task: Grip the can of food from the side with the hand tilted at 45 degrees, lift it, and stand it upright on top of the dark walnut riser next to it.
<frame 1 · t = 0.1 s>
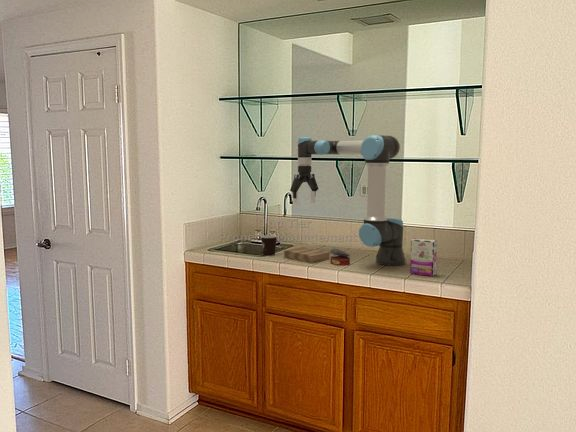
hand: (304, 203, 290), 28 cm above the counter, tool pointing down, fingers open, 13 cm apart
canned food: (340, 264, 266), on the counter
walnut riser: (306, 258, 277), on the counter
candy bar box: (422, 274, 243), on the counter
coffee mug: (269, 254, 289), on the counter
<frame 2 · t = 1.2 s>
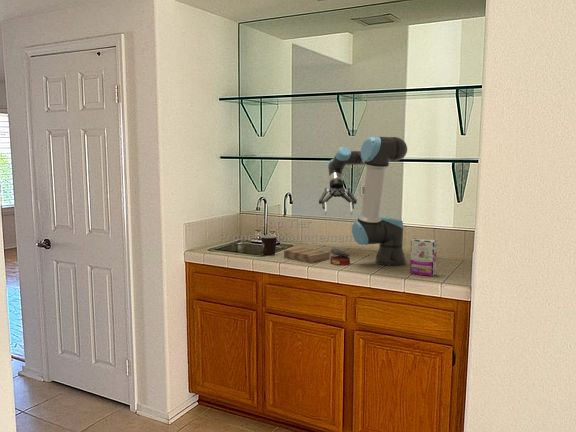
hand: (338, 213, 273), 25 cm above the counter, tool tilted 45°, fingers open, 13 cm apart
nothing on the counter moved.
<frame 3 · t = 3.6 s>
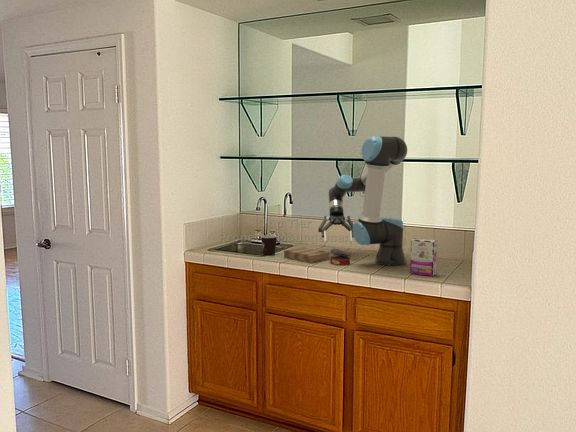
hand: (338, 242, 270), 10 cm above the counter, tool tilted 45°, fingers open, 13 cm apart
nothing on the counter moved.
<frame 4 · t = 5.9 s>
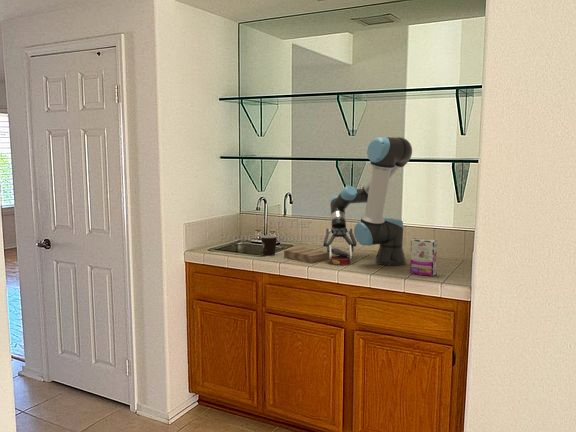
hand: (340, 256, 262), 4 cm above the counter, tool tilted 45°, fingers closed on canned food, 10 cm apart
canned food: (340, 263, 266), on the counter, touching gripper
everything else where it was.
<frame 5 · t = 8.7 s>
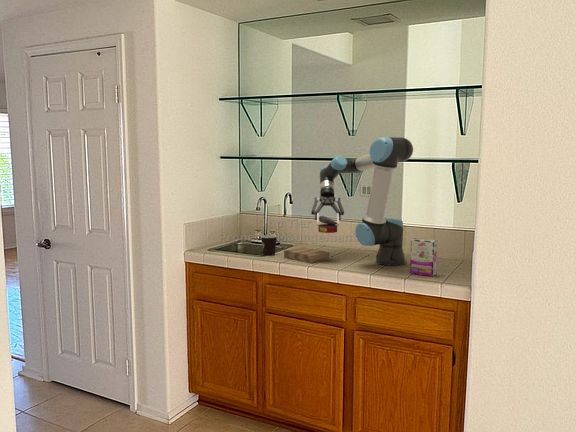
hand: (328, 224, 266), 20 cm above the counter, tool tilted 45°, fingers closed on canned food, 10 cm apart
canned food: (327, 231, 269), point 16 cm above the counter, touching gripper
everything else where it was.
when the fingers open (9 cm above the counter, at t = 11.6 s): canned food drops 1 cm, resting on walnut riser.
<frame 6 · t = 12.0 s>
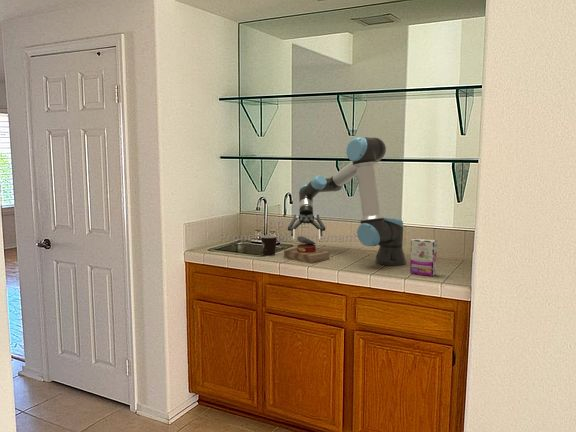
hand: (306, 240, 274), 10 cm above the counter, tool tilted 45°, fingers open, 13 cm apart
canned food: (306, 251, 277), point 4 cm above the counter, touching walnut riser
everything else where it was.
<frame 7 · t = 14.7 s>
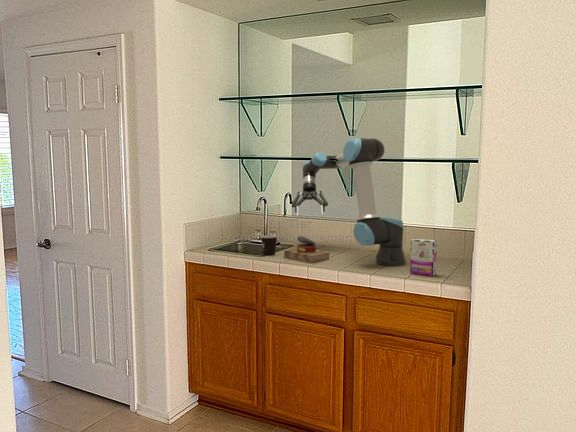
hand: (310, 216, 287), 21 cm above the counter, tool tilted 40°, fingers open, 13 cm apart
nothing on the counter moved.
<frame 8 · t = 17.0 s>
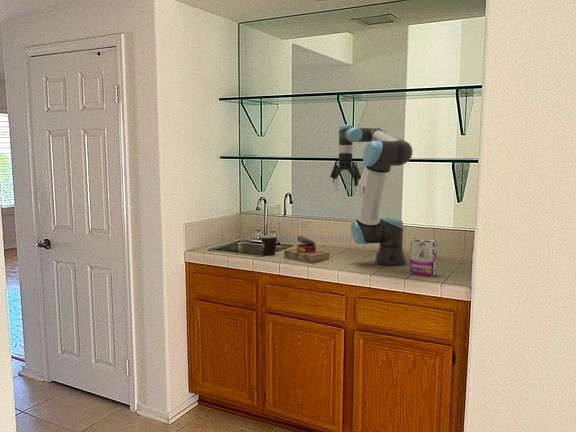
hand: (345, 191, 292), 35 cm above the counter, tool pointing down, fingers open, 13 cm apart
nothing on the counter moved.
at the end: canned food inside the target area on the walnut riser (0.1 cm from its centre), point 3.8 cm above the walnut riser's base; canned food tilted 1°; the gripper is holding nothing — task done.
